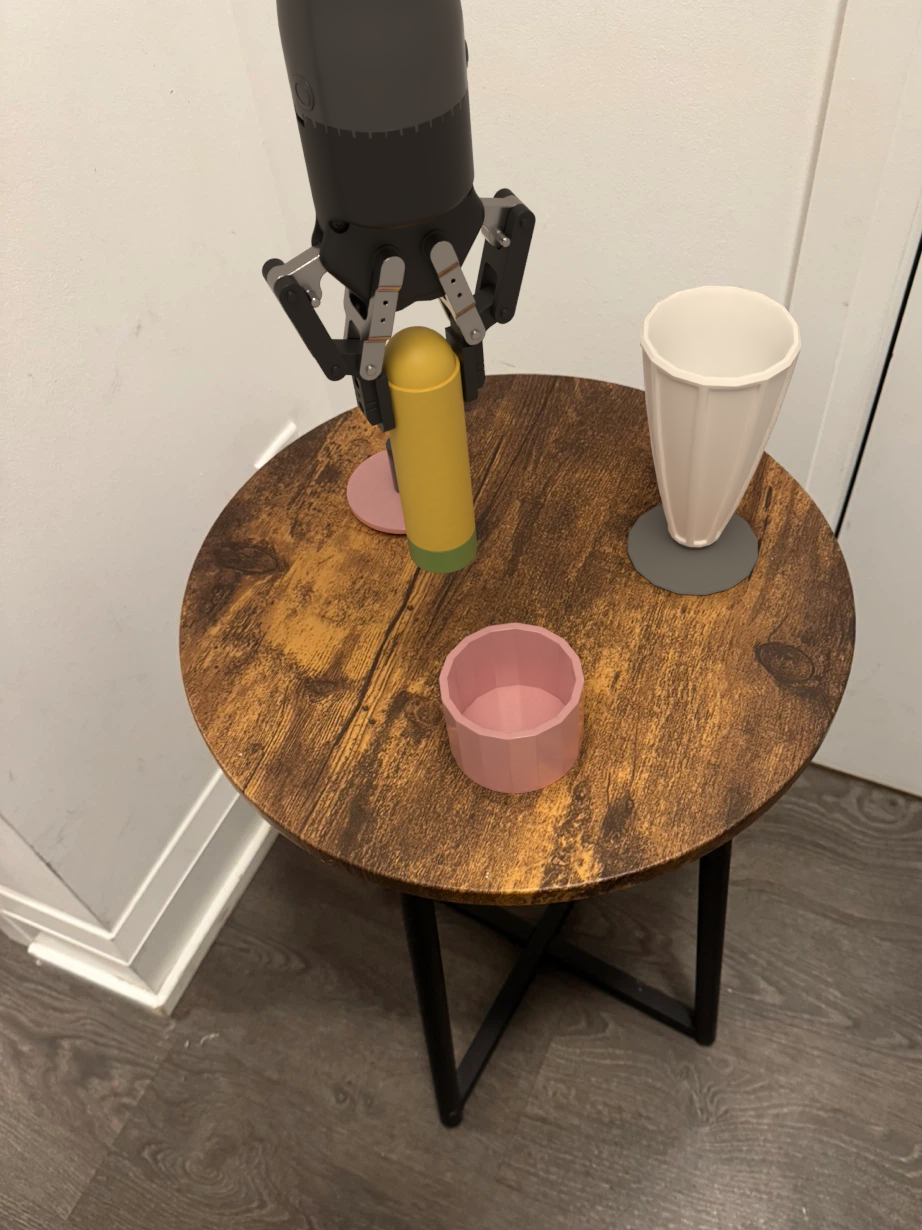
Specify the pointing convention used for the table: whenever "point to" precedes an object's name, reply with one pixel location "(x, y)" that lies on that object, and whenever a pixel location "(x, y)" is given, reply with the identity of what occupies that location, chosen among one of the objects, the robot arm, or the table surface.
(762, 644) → the table surface
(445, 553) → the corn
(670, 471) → the cup
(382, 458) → the lid
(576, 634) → the table surface
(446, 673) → the pot
